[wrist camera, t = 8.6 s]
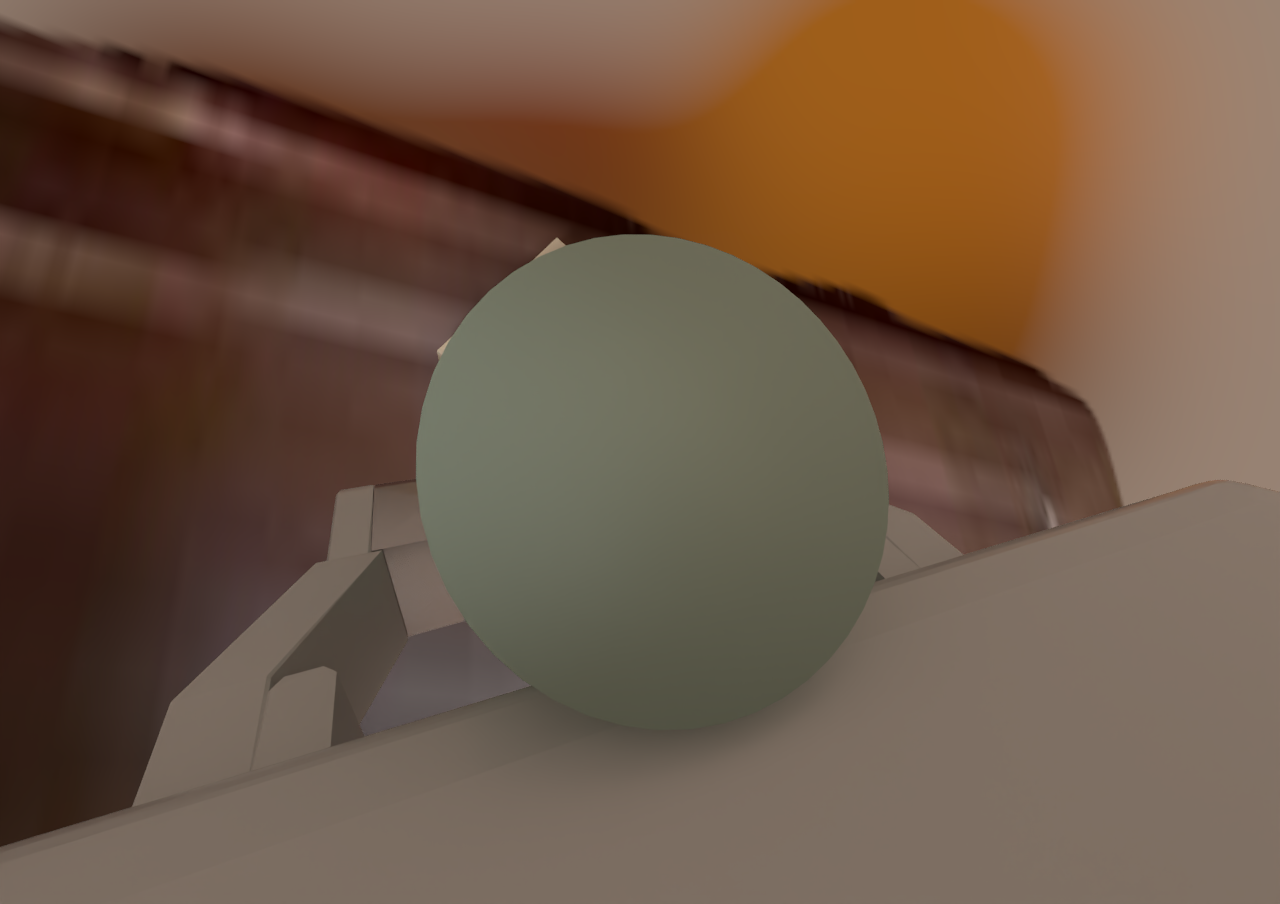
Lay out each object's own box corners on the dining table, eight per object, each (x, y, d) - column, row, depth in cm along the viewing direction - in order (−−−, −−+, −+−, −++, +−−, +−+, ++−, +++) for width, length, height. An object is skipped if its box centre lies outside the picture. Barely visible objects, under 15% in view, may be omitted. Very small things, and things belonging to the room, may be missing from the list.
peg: (427, 551, 14) (275, 491, 3) (522, 446, 16) (638, 152, 5) (540, 638, 15) (743, 849, 4) (622, 528, 16) (951, 437, 5)
